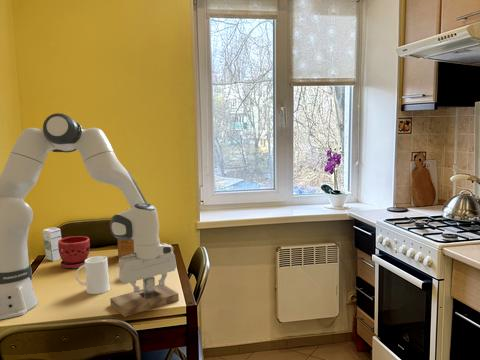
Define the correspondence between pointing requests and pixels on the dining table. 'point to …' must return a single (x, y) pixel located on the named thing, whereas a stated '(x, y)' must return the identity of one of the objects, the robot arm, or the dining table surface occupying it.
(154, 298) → the plate
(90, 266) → the mug
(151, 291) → the peg
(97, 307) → the dining table surface
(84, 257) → the plant pot
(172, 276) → the dining table surface
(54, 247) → the syrup box
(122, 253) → the coffee package
